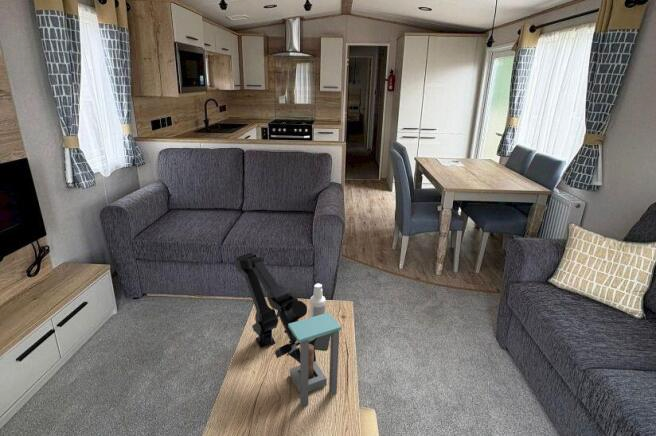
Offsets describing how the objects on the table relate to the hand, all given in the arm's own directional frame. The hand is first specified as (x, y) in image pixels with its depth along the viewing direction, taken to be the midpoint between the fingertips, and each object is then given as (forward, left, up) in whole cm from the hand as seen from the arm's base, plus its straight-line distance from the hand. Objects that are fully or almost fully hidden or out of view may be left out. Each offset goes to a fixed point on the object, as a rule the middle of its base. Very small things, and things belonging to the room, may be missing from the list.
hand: (310, 364), depth 135 cm
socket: (-1, 0, -8) cm, 8 cm away
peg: (-1, 0, -7) cm, 7 cm away
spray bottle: (-32, +19, -8) cm, 38 cm away
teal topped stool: (+4, 0, -8) cm, 9 cm away
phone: (-20, +15, -9) cm, 26 cm away
